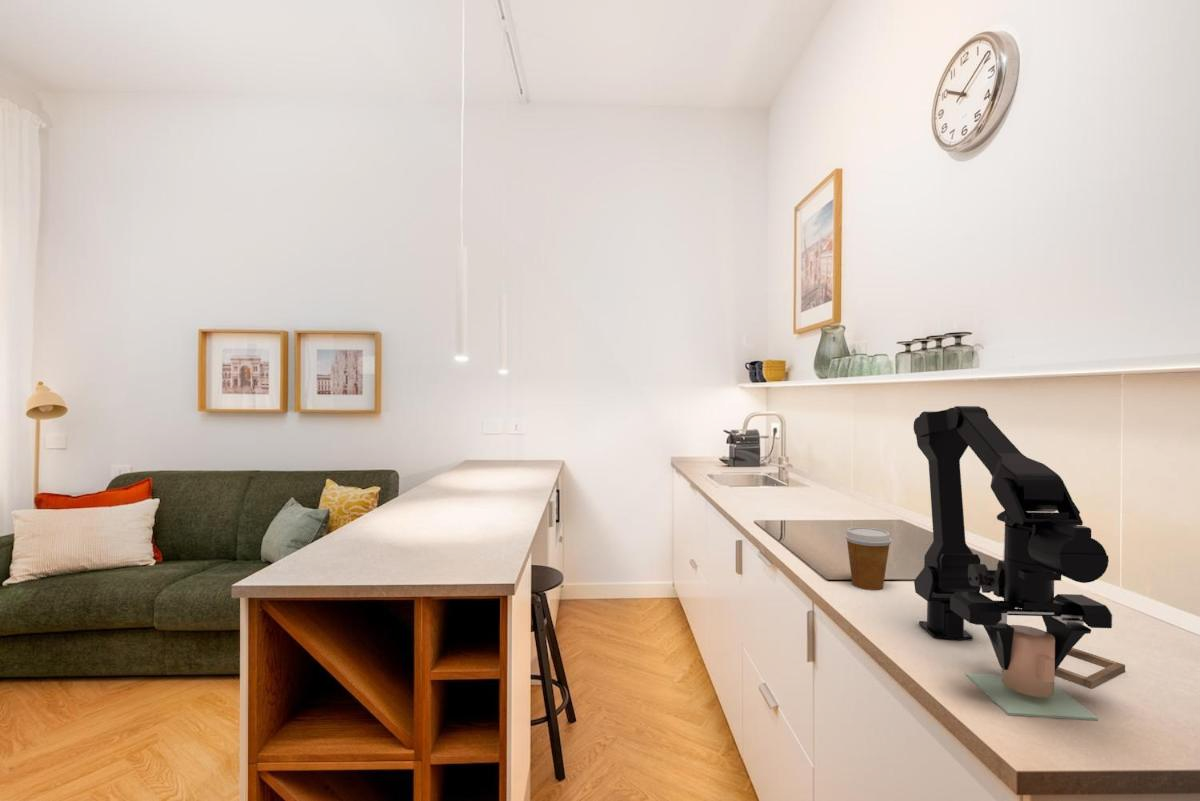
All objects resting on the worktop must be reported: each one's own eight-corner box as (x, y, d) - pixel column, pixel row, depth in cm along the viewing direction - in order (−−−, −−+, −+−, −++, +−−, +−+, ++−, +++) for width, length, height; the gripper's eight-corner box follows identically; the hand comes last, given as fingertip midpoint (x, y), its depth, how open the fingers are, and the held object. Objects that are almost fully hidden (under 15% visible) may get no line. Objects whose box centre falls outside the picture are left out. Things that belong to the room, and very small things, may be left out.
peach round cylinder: (992, 675, 86) (993, 624, 86) (1035, 676, 85) (1035, 625, 85) (1026, 701, 78) (1026, 646, 78) (1072, 703, 78) (1073, 647, 78)
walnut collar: (1008, 658, 94) (1008, 652, 94) (1043, 644, 100) (1043, 638, 100) (1091, 688, 85) (1091, 681, 85) (1125, 671, 90) (1125, 664, 90)
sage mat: (965, 675, 89) (965, 673, 89) (1043, 679, 87) (1043, 677, 87) (1008, 715, 78) (1008, 712, 78) (1098, 720, 76) (1098, 718, 76)
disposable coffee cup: (877, 578, 135) (878, 526, 135) (900, 592, 125) (900, 536, 125) (837, 578, 135) (837, 526, 134) (856, 592, 125) (857, 537, 125)
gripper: (1057, 545, 90) (1055, 646, 90) (931, 543, 91) (930, 642, 91) (1116, 567, 79) (1114, 682, 79) (972, 564, 80) (971, 677, 80)
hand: (1027, 669), depth 83 cm, fingers closed on peach round cylinder, 6 cm apart
